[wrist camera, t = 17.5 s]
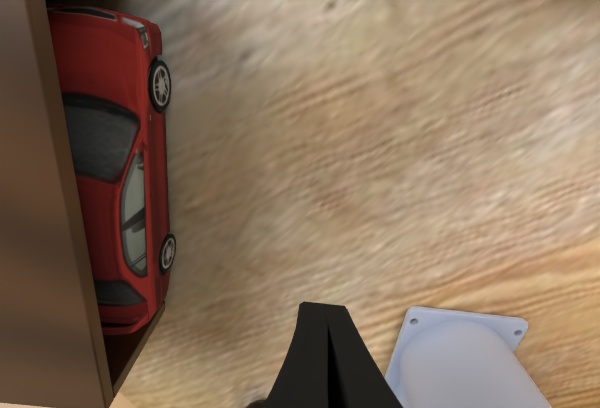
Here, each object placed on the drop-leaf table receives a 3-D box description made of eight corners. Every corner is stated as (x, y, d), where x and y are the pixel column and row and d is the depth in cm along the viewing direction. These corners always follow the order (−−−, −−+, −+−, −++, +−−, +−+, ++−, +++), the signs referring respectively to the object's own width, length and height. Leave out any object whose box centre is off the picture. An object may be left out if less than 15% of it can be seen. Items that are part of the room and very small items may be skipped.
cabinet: (165, 309, 21) (106, 413, 15) (39, 295, 21) (-77, 396, 15) (143, -52, 13) (-4, -157, 7) (-62, -83, 13) (-414, -223, 7)
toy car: (89, 273, 20) (26, 336, 15) (64, 1, 14) (-53, -29, 9) (177, 288, 20) (140, 352, 16) (189, 28, 14) (135, 12, 10)
